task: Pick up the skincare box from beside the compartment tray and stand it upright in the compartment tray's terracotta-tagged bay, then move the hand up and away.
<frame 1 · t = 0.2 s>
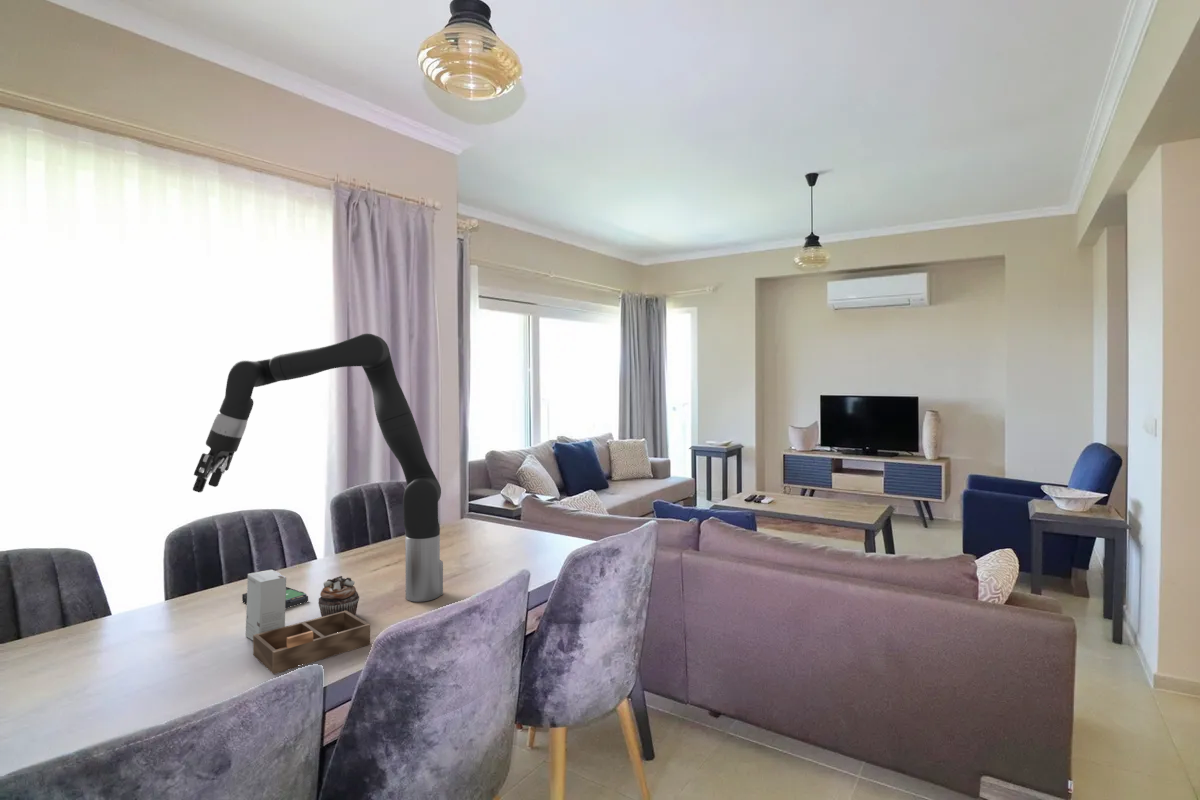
hand: (205, 488, 163), 31 cm above the table, tool tilted 20°, fingers open, 8 cm apart
cupcake: (339, 618, 155), on the table
skincare box: (266, 638, 143), on the table
disk drive: (275, 604, 167), on the table
compartment tray: (313, 649, 136), on the table
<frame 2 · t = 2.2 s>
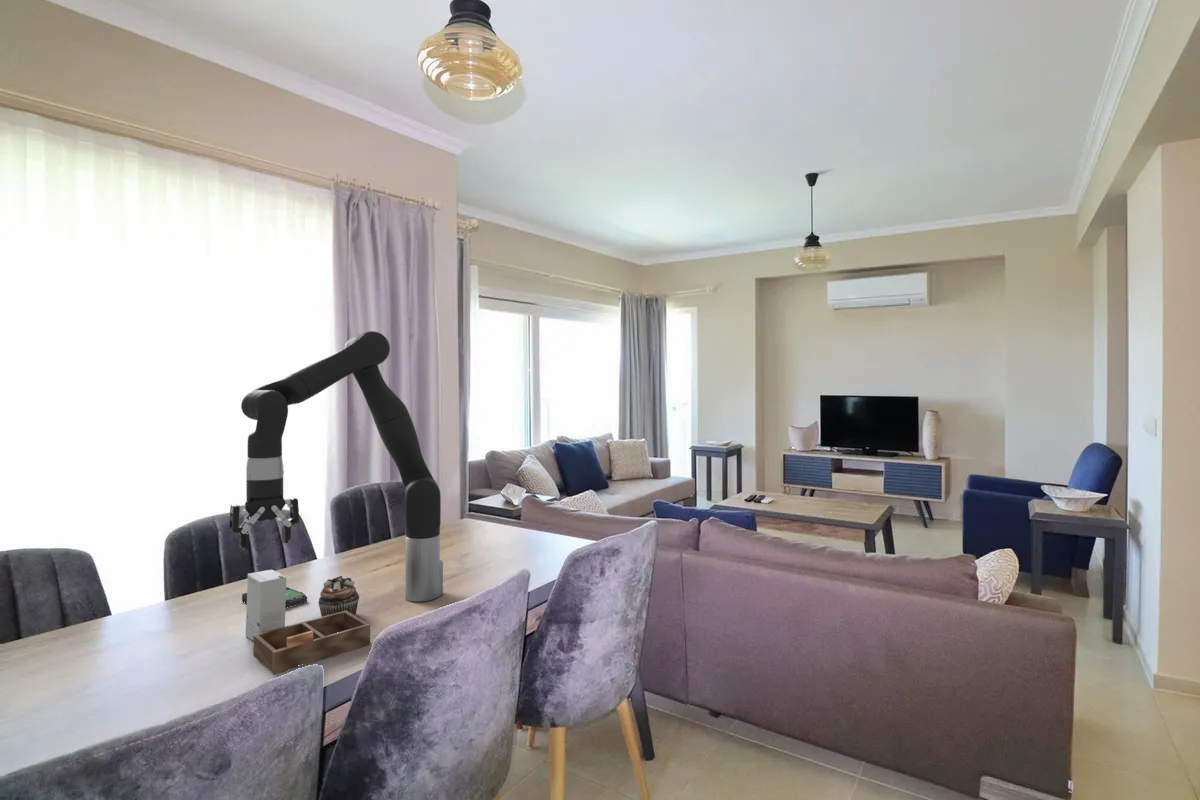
hand: (265, 545, 142), 21 cm above the table, tool pointing down, fingers open, 8 cm apart
nothing on the table moved.
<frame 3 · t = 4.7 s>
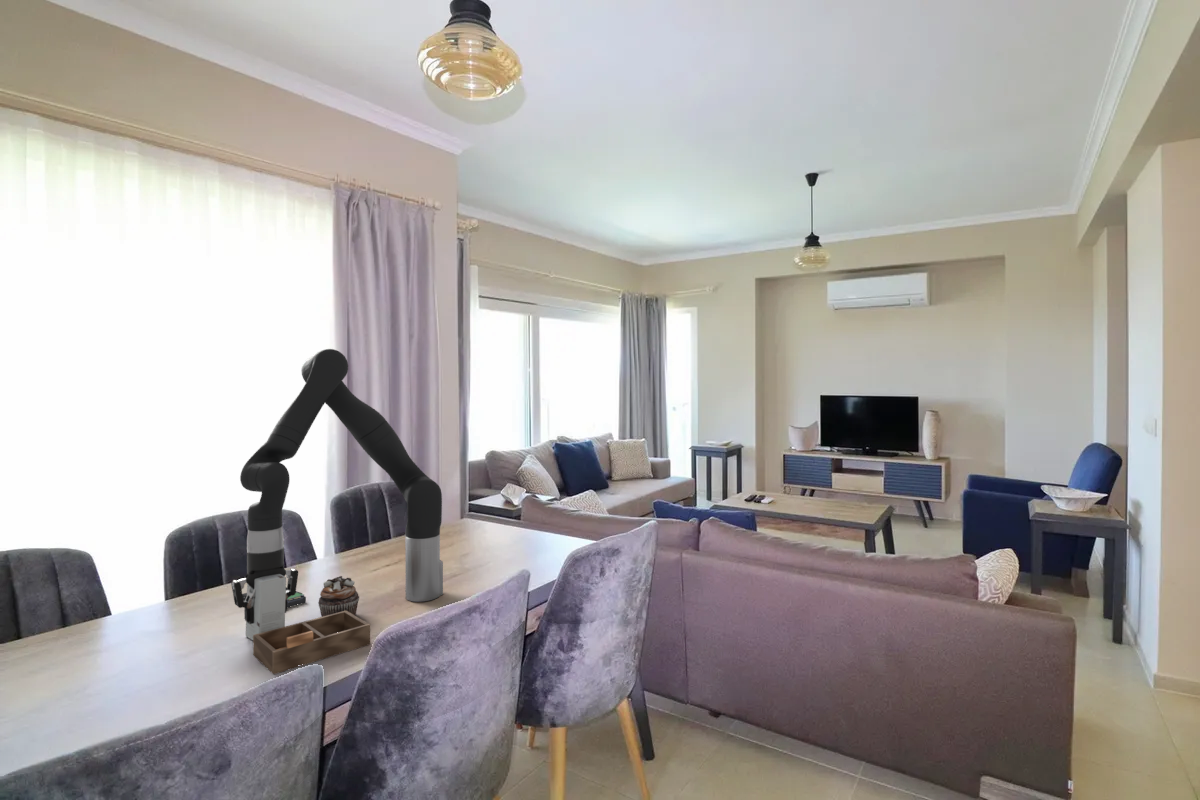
hand: (266, 618, 143), 4 cm above the table, tool pointing down, fingers closed on skincare box, 6 cm apart
skincare box: (266, 638, 143), on the table, touching gripper
everything else where it was.
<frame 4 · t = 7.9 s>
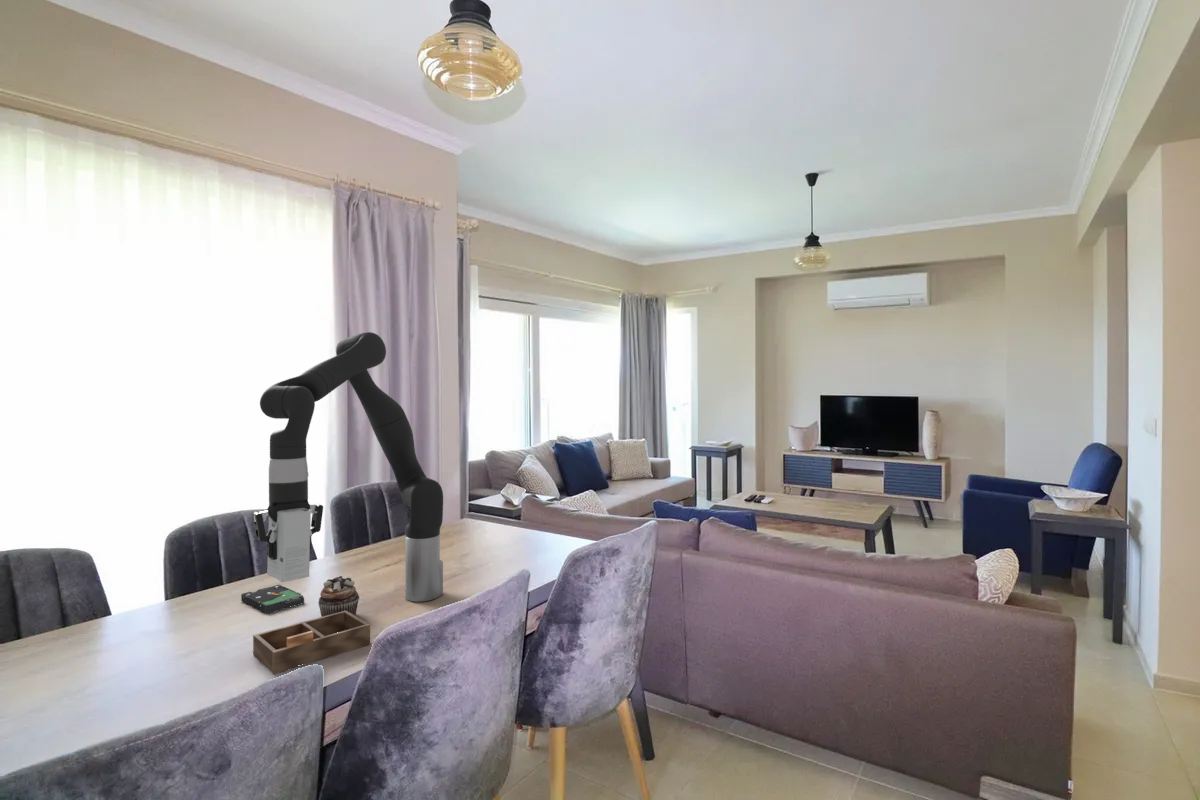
hand: (289, 555, 132), 22 cm above the table, tool pointing down, fingers closed on skincare box, 6 cm apart
skincare box: (289, 577, 133), point 17 cm above the table, touching gripper
everything else where it was.
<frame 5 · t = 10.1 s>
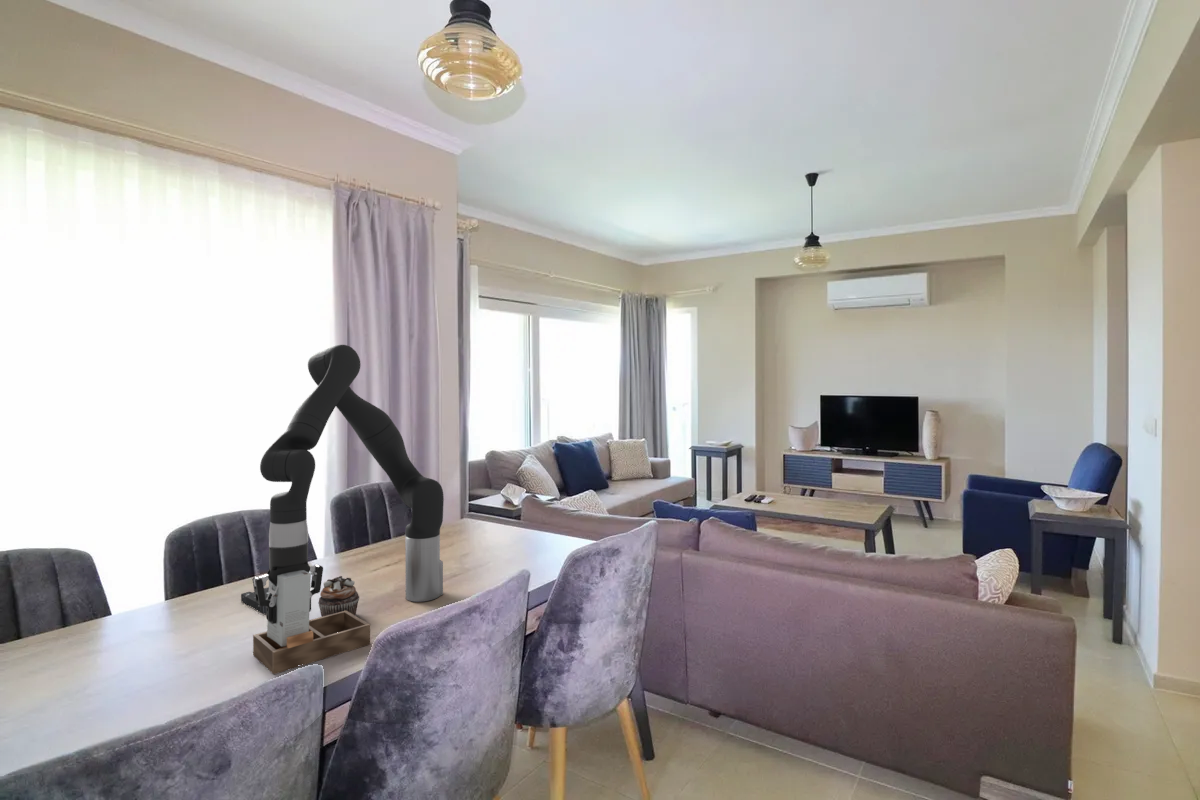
hand: (289, 618, 133), 8 cm above the table, tool pointing down, fingers closed on skincare box, 6 cm apart
skincare box: (289, 639, 133), point 4 cm above the table, touching gripper
everything else where it was.
when the fingers open (6 cm above the table, at t = 11.7 s): skincare box drops 1 cm, resting on compartment tray.
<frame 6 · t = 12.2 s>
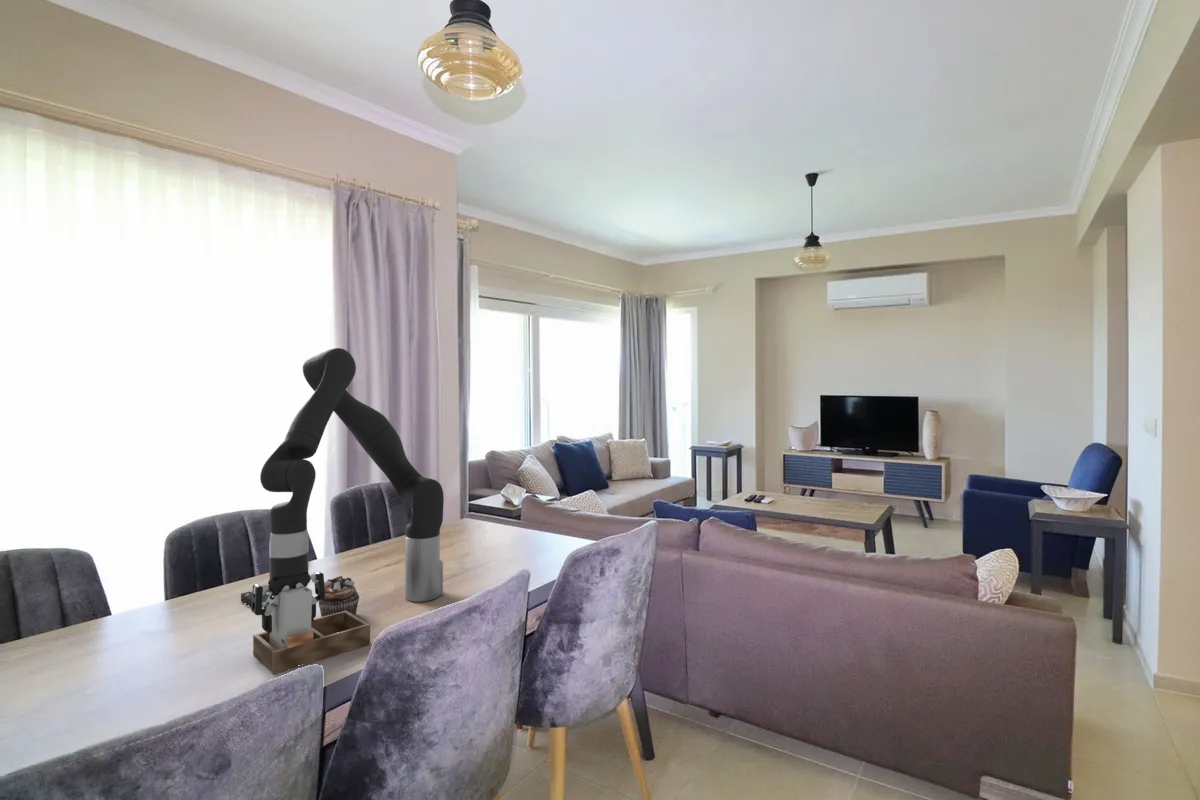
hand: (289, 626, 133), 7 cm above the table, tool pointing down, fingers open, 8 cm apart
skincare box: (290, 655, 133), resting on compartment tray
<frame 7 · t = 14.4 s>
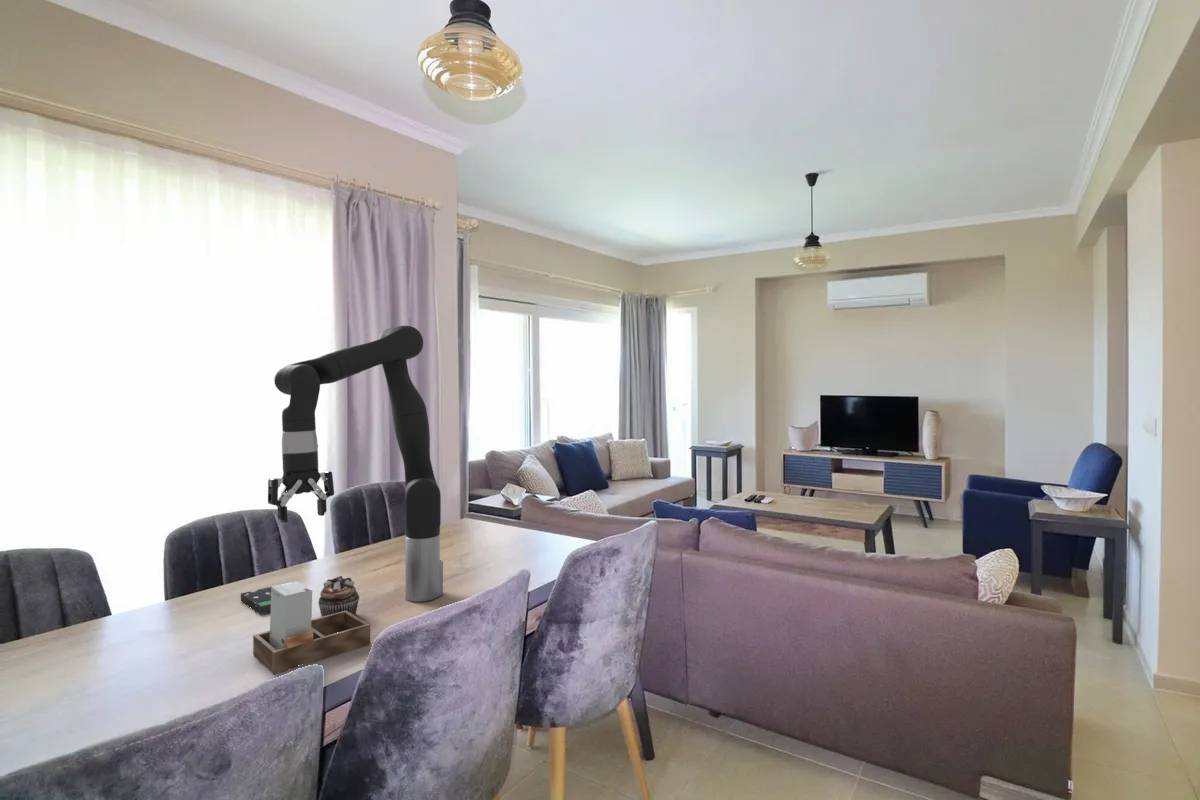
hand: (302, 518, 144), 27 cm above the table, tool pointing down, fingers open, 8 cm apart
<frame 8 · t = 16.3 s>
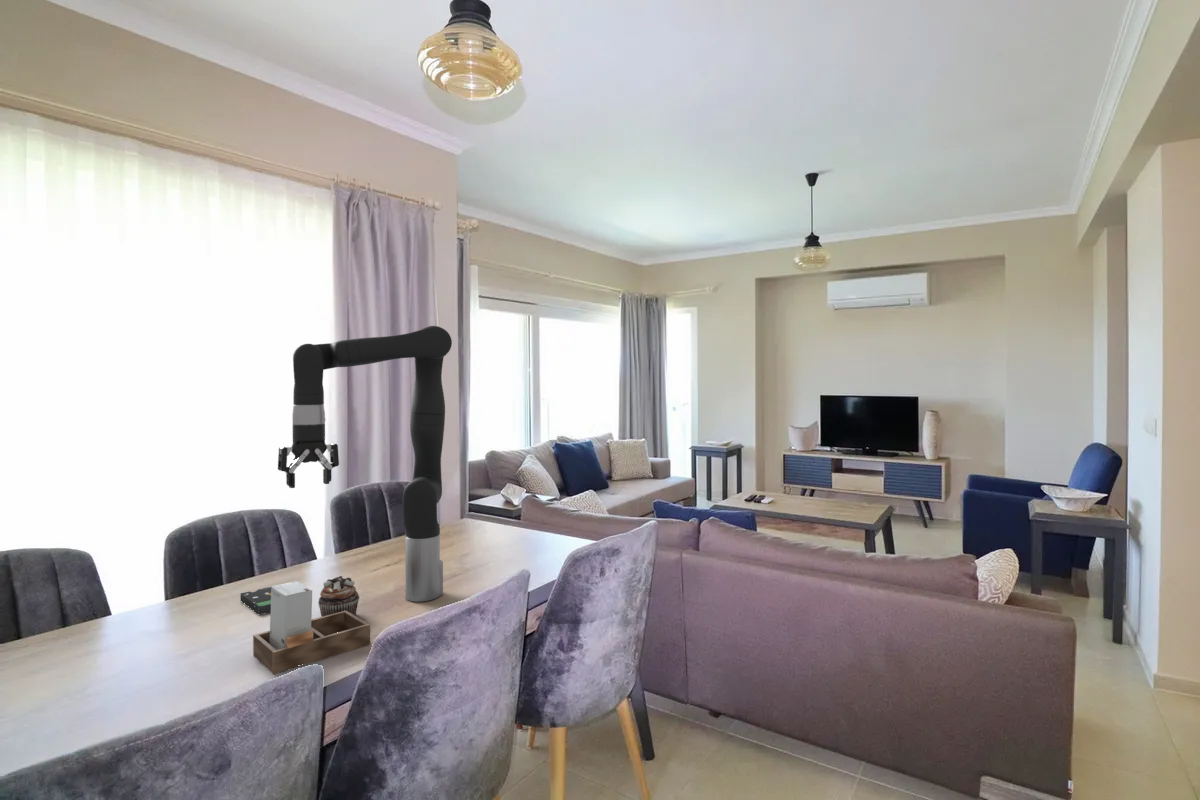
hand: (309, 485, 157), 33 cm above the table, tool pointing down, fingers open, 8 cm apart
at the end: skincare box 0.3 cm from the target spot on the compartment tray, point 0.1 cm above the compartment tray's base; skincare box tilted 0°; the gripper is holding nothing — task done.
